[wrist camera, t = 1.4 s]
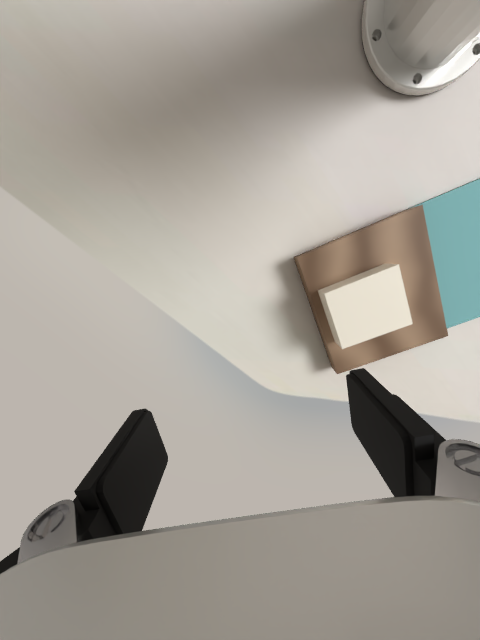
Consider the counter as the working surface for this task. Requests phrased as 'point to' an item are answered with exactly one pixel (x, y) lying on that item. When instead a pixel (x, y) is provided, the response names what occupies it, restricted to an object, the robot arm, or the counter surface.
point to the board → (367, 253)
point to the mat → (456, 250)
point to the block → (366, 305)
